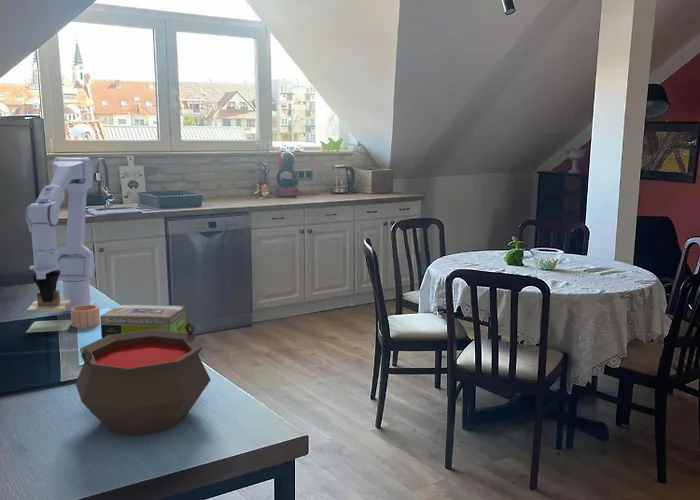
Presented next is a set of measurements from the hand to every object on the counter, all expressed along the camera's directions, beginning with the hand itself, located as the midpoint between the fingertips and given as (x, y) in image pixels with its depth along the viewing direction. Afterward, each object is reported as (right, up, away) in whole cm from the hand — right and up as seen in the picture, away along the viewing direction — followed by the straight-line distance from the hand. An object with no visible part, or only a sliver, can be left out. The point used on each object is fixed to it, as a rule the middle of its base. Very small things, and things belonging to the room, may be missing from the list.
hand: (48, 300), depth 174 cm
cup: (+9, -7, +3) cm, 12 cm away
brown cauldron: (+42, -18, -52) cm, 69 cm away
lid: (0, -2, 0) cm, 2 cm away
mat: (0, -7, +1) cm, 8 cm away
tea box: (+36, -14, -32) cm, 50 cm away
